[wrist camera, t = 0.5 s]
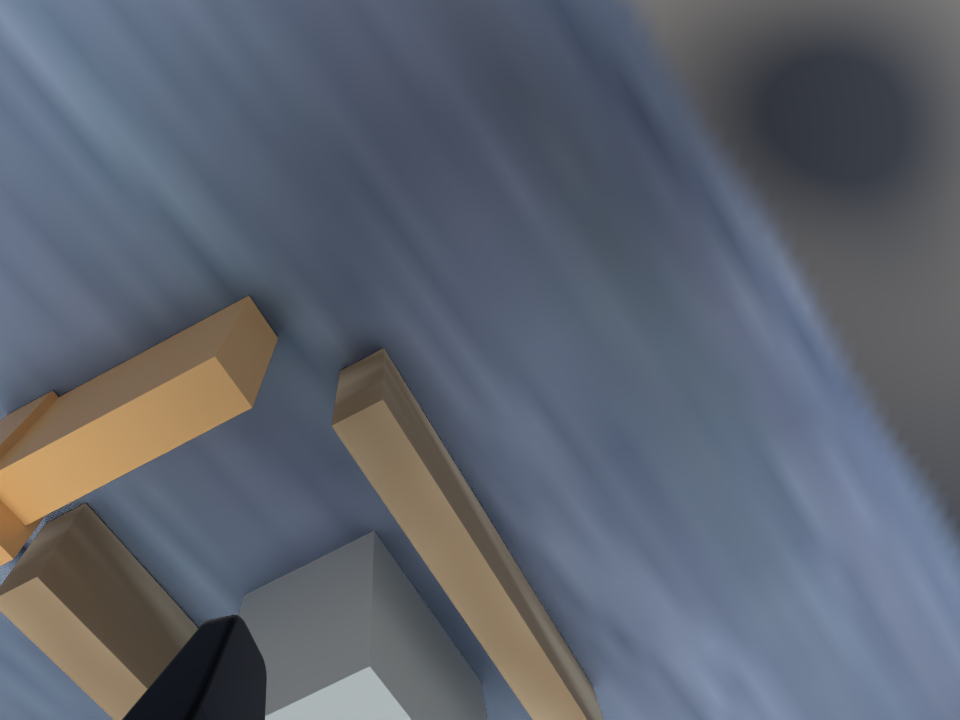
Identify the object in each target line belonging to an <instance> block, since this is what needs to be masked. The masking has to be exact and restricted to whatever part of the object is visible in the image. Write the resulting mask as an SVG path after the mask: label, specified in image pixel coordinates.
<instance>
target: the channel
mask: <svg viewBox="0 0 960 720" xmlns="http://www.w3.org/2000/svg"><path fill="white" fill-rule="evenodd" d="M331 426H332V427H333V429H334V430H335V432H336V433H337V435H338V436H339V438H340V439H341V441H342V442H343V444H344V445H345V446H346V448H347V449H348V451H349V452H350V454H351V455H352V457H353V458H354V460H355V461H356V463H357V464H358V465H359V467H360V468H361V470H362V471H363V473H364V474H365V476H366V477H367V479H368V480H369V482H370V483H371V484H372V486H373V487H374V489H375V490H376V492H377V493H378V495H379V496H380V498H381V499H382V500H383V502H384V503H385V505H386V506H387V508H388V509H389V511H390V512H391V514H392V515H393V517H394V518H395V519H396V521H397V522H398V524H399V525H400V527H401V528H402V530H403V531H404V533H405V534H406V536H407V537H408V538H409V540H410V541H411V543H412V544H413V546H414V547H415V549H416V550H417V552H418V553H419V554H420V556H421V557H422V559H423V560H424V562H425V563H426V565H427V566H428V568H429V569H430V571H431V572H432V573H433V575H434V576H435V578H436V579H437V581H438V582H439V584H440V585H441V587H442V588H443V590H444V591H445V592H446V594H447V595H448V597H449V598H450V600H451V601H452V603H453V604H454V606H455V607H456V609H457V610H458V611H459V613H460V614H461V616H462V617H463V619H464V620H465V622H466V623H467V625H468V626H469V627H470V629H471V630H472V632H473V633H474V635H475V636H476V638H477V639H478V641H479V642H480V644H481V645H482V646H483V648H484V649H485V651H486V652H487V654H488V655H489V657H490V658H491V660H492V661H493V663H494V664H495V665H496V667H497V668H498V670H499V671H500V673H501V674H502V676H503V677H504V679H505V680H506V682H507V683H508V684H509V686H510V687H511V689H512V690H513V692H514V693H515V695H516V696H517V698H518V699H519V700H520V702H521V703H522V705H523V706H524V708H525V709H526V711H527V712H528V714H529V715H530V717H531V718H532V719H533V720H603V717H602V714H601V710H600V707H599V704H598V701H597V698H596V694H595V691H594V688H593V687H592V685H591V683H590V682H589V680H588V678H587V677H586V675H585V674H584V672H583V670H582V669H581V667H580V666H579V664H578V662H577V661H576V659H575V657H574V656H573V654H572V653H571V651H570V649H569V648H568V646H567V644H566V643H565V641H564V640H563V638H562V636H561V635H560V633H559V631H558V630H557V628H556V627H555V625H554V623H553V622H552V620H551V618H550V617H549V615H548V614H547V612H546V610H545V609H544V607H543V606H542V604H541V602H540V601H539V599H538V597H537V596H536V594H535V593H534V591H533V589H532V588H531V586H530V584H529V583H528V581H527V580H526V578H525V576H524V575H523V573H522V571H521V570H520V568H519V567H518V565H517V563H516V562H515V560H514V558H513V557H512V555H511V554H510V552H509V550H508V549H507V547H506V546H505V544H504V542H503V541H502V539H501V537H500V536H499V534H498V533H497V531H496V529H495V528H494V526H493V524H492V523H491V521H490V520H489V518H488V516H487V515H486V513H485V511H484V510H483V508H482V507H481V505H480V503H479V502H478V500H477V498H476V497H475V495H474V494H473V492H472V490H471V489H470V487H469V486H468V484H467V482H466V481H465V479H464V477H463V476H462V474H461V473H460V471H459V469H458V468H457V466H456V464H455V463H454V461H453V460H452V458H451V456H450V455H449V453H448V451H447V450H446V448H445V447H444V445H443V443H442V442H441V440H440V438H439V437H438V435H437V434H436V432H435V430H434V429H433V427H432V426H431V424H430V422H429V421H428V419H427V417H426V416H425V414H424V413H423V411H422V409H421V408H420V406H419V404H418V403H417V401H416V400H415V398H414V396H413V395H412V393H411V391H410V390H409V388H408V387H407V385H406V383H405V382H404V380H403V378H402V377H401V375H400V374H399V372H398V370H397V369H396V367H395V365H394V364H393V362H392V361H391V359H390V357H389V356H388V354H387V353H386V351H385V349H384V348H383V349H381V350H379V351H377V352H375V353H374V354H372V355H370V356H368V357H366V358H364V359H362V360H360V361H358V362H356V363H354V364H352V365H350V366H348V367H347V368H345V369H343V370H341V371H340V373H339V379H338V386H337V392H336V399H335V406H334V412H333V419H332V425H331ZM0 611H1V612H2V613H3V614H4V615H5V616H6V617H7V618H8V619H9V620H10V621H11V622H12V623H14V624H15V625H16V626H17V627H18V628H19V629H20V630H21V631H22V632H23V633H24V634H25V635H26V636H27V637H28V638H29V639H30V640H31V641H32V642H33V643H34V644H35V645H36V646H38V647H39V648H40V649H41V650H42V651H43V652H44V653H45V654H46V655H47V656H48V657H49V658H50V659H51V660H52V661H53V662H54V663H55V664H56V665H57V666H58V667H59V668H60V669H61V670H63V671H64V672H65V673H66V674H67V675H68V676H69V677H70V678H71V679H72V680H73V681H74V682H75V683H76V684H77V685H78V686H79V687H80V688H81V689H82V690H83V691H84V692H85V693H86V694H88V695H89V696H90V697H91V698H92V699H93V700H94V701H95V702H96V703H97V704H98V705H99V706H100V707H101V708H102V709H103V710H104V711H105V712H106V713H107V714H108V715H109V716H110V717H112V718H113V719H114V720H122V719H123V717H124V716H125V715H126V714H127V713H128V712H129V710H130V709H131V708H132V707H133V706H134V704H135V703H136V702H137V701H138V700H139V698H140V697H141V696H142V695H143V694H144V693H145V691H146V690H147V689H148V688H149V687H150V685H151V684H152V683H153V682H154V681H155V679H156V678H157V677H158V676H159V675H160V674H161V672H162V671H163V670H164V669H165V668H166V666H167V665H168V664H169V663H170V662H171V660H172V659H173V658H174V657H175V656H176V654H177V653H178V652H179V651H180V650H181V649H182V647H183V646H184V645H185V644H186V643H187V641H188V640H189V639H190V638H191V637H192V635H193V634H194V633H195V632H196V631H197V630H198V627H197V626H196V625H195V624H194V623H193V622H192V621H191V620H190V618H189V617H188V616H187V615H186V614H185V613H184V612H183V611H182V610H181V608H180V607H179V606H178V605H177V604H176V603H175V602H174V601H173V600H172V598H171V597H170V596H169V595H168V594H167V593H166V592H165V591H164V590H163V588H162V587H161V586H160V585H159V584H158V583H157V582H156V581H155V580H154V578H153V577H152V576H151V575H150V574H149V573H148V572H147V571H146V570H145V568H144V567H143V566H142V565H141V564H140V563H139V562H138V561H137V559H136V558H135V557H134V556H133V555H132V554H131V553H130V552H129V551H128V549H127V548H126V547H125V546H124V545H123V544H122V543H121V542H120V541H119V539H118V538H117V537H116V536H115V535H114V534H113V533H112V532H111V531H110V529H109V528H108V527H107V526H106V525H105V524H104V523H103V522H102V521H101V519H100V518H99V517H98V516H97V515H96V514H95V513H94V512H93V511H92V509H91V508H90V507H89V506H88V505H87V504H86V503H85V504H83V505H81V506H79V507H77V508H75V509H73V510H71V511H69V512H67V513H65V514H63V515H62V516H60V517H58V518H56V519H54V520H52V521H50V522H48V523H46V524H45V525H44V526H43V528H42V529H41V530H40V532H39V533H38V535H37V536H36V537H35V539H34V540H33V542H32V543H31V544H30V546H29V547H28V548H27V550H26V551H25V553H24V554H23V555H22V557H21V558H20V560H19V561H18V562H17V564H16V565H15V567H14V568H13V569H12V571H11V572H10V574H9V575H8V576H7V578H6V579H5V581H4V582H3V583H2V585H1V586H0Z"/></svg>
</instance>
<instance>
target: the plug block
mask: <svg viewBox="0 0 960 720" xmlns="http://www.w3.org/2000/svg"><path fill="white" fill-rule="evenodd" d="M238 616H240V617H241V618H242V619H243V620H244V622H245V623H246V625H247V627H248V629H249V631H250V633H251V635H252V637H253V639H254V641H255V643H256V645H257V647H258V649H259V650H260V652H261V654H262V656H263V659H264V662H265V666H266V673H267V686H266V709H265V720H488V719H487V713H486V706H485V699H484V692H483V685H482V683H481V681H480V680H479V679H478V677H477V676H476V674H475V673H474V671H473V670H472V669H471V667H470V666H469V664H468V663H467V662H466V660H465V659H464V657H463V656H462V654H461V653H460V652H459V650H458V649H457V647H456V646H455V645H454V643H453V642H452V640H451V639H450V638H449V636H448V635H447V633H446V632H445V630H444V629H443V628H442V626H441V625H440V623H439V622H438V621H437V619H436V618H435V616H434V615H433V613H432V612H431V611H430V609H429V608H428V606H427V605H426V604H425V602H424V601H423V599H422V598H421V596H420V595H419V594H418V592H417V591H416V589H415V588H414V587H413V585H412V584H411V582H410V581H409V579H408V578H407V577H406V575H405V574H404V572H403V571H402V570H401V568H400V567H399V565H398V564H397V562H396V561H395V560H394V558H393V557H392V555H391V554H390V553H389V551H388V550H387V548H386V547H385V546H384V544H383V543H382V541H381V540H380V538H379V537H378V536H377V534H376V533H375V531H372V532H370V533H368V534H366V535H364V536H362V537H360V538H358V539H356V540H354V541H352V542H350V543H348V544H346V545H344V546H342V547H340V548H338V549H336V550H334V551H332V552H330V553H328V554H326V555H324V556H322V557H320V558H318V559H316V560H314V561H312V562H310V563H308V564H306V565H304V566H302V567H300V568H298V569H296V570H294V571H292V572H290V573H288V574H286V575H284V576H282V577H280V578H278V579H276V580H274V581H271V582H269V583H267V584H265V585H263V586H261V587H259V588H257V589H255V590H253V591H251V592H249V593H247V594H245V595H244V596H243V600H242V603H241V607H240V611H239V615H238Z"/></svg>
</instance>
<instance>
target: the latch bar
mask: <svg viewBox="0 0 960 720" xmlns="http://www.w3.org/2000/svg"><path fill="white" fill-rule="evenodd" d="M277 341H278V337H277V336H276V334H275V333H274V332H273V330H272V329H271V327H270V326H269V324H268V323H267V321H266V320H265V318H264V317H263V315H262V314H261V312H260V311H259V310H258V308H257V307H256V305H255V304H254V302H253V301H252V299H251V298H250V296H247V297H245V298H243V299H241V300H239V301H237V302H236V303H234V304H232V305H230V306H228V307H226V308H224V309H222V310H221V311H219V312H217V313H215V314H213V315H211V316H209V317H208V318H206V319H204V320H202V321H200V322H198V323H196V324H194V325H193V326H191V327H189V328H187V329H185V330H183V331H181V332H180V333H178V334H176V335H174V336H172V337H170V338H168V339H166V340H165V341H163V342H161V343H159V344H157V345H155V346H153V347H152V348H150V349H148V350H146V351H144V352H142V353H140V354H138V355H137V356H135V357H133V358H131V359H129V360H127V361H125V362H123V363H122V364H120V365H118V366H116V367H114V368H112V369H110V370H109V371H107V372H105V373H103V374H101V375H99V376H97V377H95V378H94V379H92V380H90V381H88V382H86V383H84V384H82V385H81V386H79V387H77V388H75V389H73V390H71V391H69V392H67V393H66V394H64V395H62V396H60V397H58V396H57V395H56V393H55V392H54V391H51V392H49V393H47V394H45V395H43V396H42V397H40V398H38V399H36V400H34V401H32V402H30V403H29V404H27V405H25V406H23V407H21V408H19V409H17V410H15V411H14V412H12V413H10V414H8V415H6V416H5V417H4V418H3V419H2V420H1V421H0V566H1V565H3V564H5V563H7V562H9V561H11V560H13V559H14V558H15V556H16V555H17V554H18V552H19V551H20V549H21V548H22V547H23V545H24V544H25V543H26V541H27V540H28V538H29V537H30V536H31V534H32V533H33V532H34V530H35V529H36V527H37V526H38V525H39V523H40V522H41V521H42V519H43V518H44V516H45V515H47V514H49V513H51V512H53V511H55V510H57V509H59V508H61V507H62V506H64V505H66V504H68V503H70V502H72V501H74V500H76V499H78V498H80V497H82V496H84V495H86V494H87V493H89V492H91V491H93V490H95V489H97V488H99V487H101V486H103V485H105V484H107V483H109V482H110V481H112V480H114V479H116V478H118V477H120V476H122V475H124V474H126V473H128V472H130V471H132V470H134V469H135V468H137V467H139V466H141V465H143V464H145V463H147V462H149V461H151V460H153V459H155V458H157V457H159V456H160V455H162V454H164V453H166V452H168V451H170V450H172V449H174V448H176V447H178V446H180V445H182V444H184V443H185V442H187V441H189V440H191V439H193V438H195V437H197V436H199V435H201V434H203V433H205V432H207V431H209V430H210V429H212V428H214V427H216V426H218V425H220V424H222V423H224V422H226V421H228V420H230V419H232V418H233V417H235V416H237V415H239V414H241V413H243V412H245V411H247V410H249V409H251V408H252V407H253V405H254V402H255V399H256V397H257V394H258V391H259V389H260V386H261V383H262V381H263V378H264V375H265V373H266V370H267V367H268V365H269V362H270V359H271V357H272V354H273V351H274V349H275V346H276V343H277Z"/></svg>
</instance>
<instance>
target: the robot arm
mask: <svg viewBox="0 0 960 720" xmlns="http://www.w3.org/2000/svg"><path fill="white" fill-rule="evenodd" d="M266 686H267V673H266V666H265V662H264V659H263V656H262V654H261V652H260V650H259V649H258V647H257V645H256V643H255V641H254V639H253V637H252V635H251V633H250V631H249V629H248V627H247V625H246V623H245V622H244V620H243V619H242V618H241V617H240V616H238V615H231V616H226V617H221V618H217V619H212V620H209V621H206V622H205V623H203V624H202V625H201V626H200V627H199V628H198V630H197V631H196V632H195V633H194V634H193V635H192V637H191V638H190V639H189V640H188V641H187V643H186V644H185V645H184V646H183V647H182V649H181V650H180V651H179V652H178V653H177V654H176V656H175V657H174V658H173V659H172V660H171V662H170V663H169V664H168V665H167V666H166V668H165V669H164V670H163V671H162V672H161V674H160V675H159V676H158V677H157V678H156V679H155V681H154V682H153V683H152V684H151V685H150V687H149V688H148V689H147V690H146V691H145V693H144V694H143V695H142V696H141V697H140V698H139V700H138V701H137V702H136V703H135V704H134V706H133V707H132V708H131V709H130V710H129V712H128V713H127V714H126V715H125V716H124V717H123V719H122V720H265V709H266Z"/></svg>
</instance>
